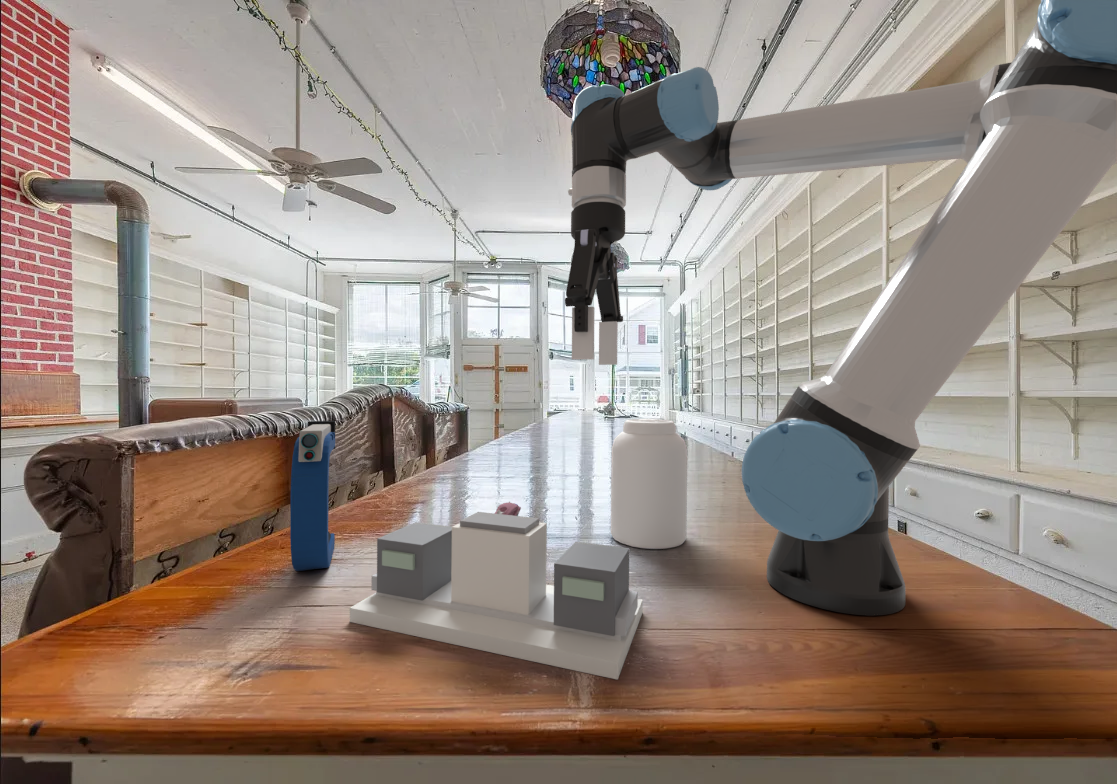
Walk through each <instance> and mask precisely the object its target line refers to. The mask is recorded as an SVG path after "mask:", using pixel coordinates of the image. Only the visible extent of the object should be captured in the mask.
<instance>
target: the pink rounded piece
mask: <svg viewBox="0 0 1117 784" xmlns="http://www.w3.org/2000/svg"><path fill="white" fill-rule="evenodd" d="M521 509H522V507H521V506H519V505H518V504H517V503H513V502H511V501H508V502H504V503H501V504H499V505H498V506H497V508H496V511H495V512H493V513H494V514H503V515H513V516H519V514H520V512H521Z"/></svg>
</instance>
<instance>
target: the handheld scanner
mask: <svg viewBox="0 0 1117 784" xmlns="http://www.w3.org/2000/svg"><path fill="white" fill-rule="evenodd" d="M335 449H336V421H335V420H309V421H307V426H306V427H305V428H303V429H302V430H300V431H299V436H298V437H297V438H296V440H295V441H294V443H293V452H292V453H293V454H292V460H291V473H290V513H289V514H290V515H289V516H290V521H289V522H290V523H289V524H290V525H289V526H290V529H289V531H290V533H289V535H290V537H289V538H290V540H289V541H290V557H291V558H290V559H291V563H292V568H293V570H294V571H296V572H301V571H310V570H317V569H319V570H320V569H327V568H330V566H331V563H332V559H333V554H334V550H335V544H336V543H335V542H336V540H335V535H336V534H335V533H333V532H332V533H330V531H329V495H330V494H329V489H330V487H329V481H330V479H329V478H330V477H329V476H330V458H331V453H332V452H333V450H335Z"/></svg>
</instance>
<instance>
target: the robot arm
mask: <svg viewBox="0 0 1117 784" xmlns="http://www.w3.org/2000/svg"><path fill="white" fill-rule="evenodd" d="M718 98H719V97H718V91H717V88H716V86H715V85H714V79H713V76H712V75H711V74H710V72H709V71H708V70H707V69H705V68H704V67H701V66H696V67H695V66H694V67H693V68H690V69H687V70H684V71H680V72H678V73H672V74H669V75H667V76H665V77H664V78H662V79H660V80H657V81H655V82H652V83H651V84H649V85H646V86H644V87H641V88H639V89H638V90H634V91H633V92H630V93H628V94H625V93H624V92H623V91H622V89H620V88H619V87H617V86H615V85H611V84H607V83H606V84H604V83H602V84H601V85H600V86H596V85H594V84H593V85H590V86H588V87H586V88H584V89H582V90H581V91H579V93H578V94H577V95H576V97H575V99H574V101H573V105H572V118H571V120H572V121H571V125H570V132H571V155H572V157H571V159H572V162H571V163H572V164H571V165H572V166H571V168H572V170H571V188H569V189H568V190H567V192H568V196H570V197H571V207H572V210H571V212H570V214H571V215H570V235H571V237H572V239H573V240H574V247H573V253H572V258H571V263H570V269H569V274H568V280H567V284H566V285H567V286H566V291H565V296H566V297H565V298H564V305H565V307H572V308H571V360H574V361H575V360H578V361H579V360H583V361H584V360H595V306H592V304H593V300H594V298H595V294H596V297H597V303H598V307H599V308H598V309H599V314H600V321H599V322H598V325H599V326H598V365H599V366H601V365H602V366H605V365H608V366H609V365H610V366H611V365H612V366H613V365H616V366H618V333H619V332H618V329H619V328H618V323H622V322H624V316H623V315H622V314H621V305H620V304H621V303H620V292H619V291H620V290H619V280H618V266H617V265H618V264H617V262H618V258H617V255H616V254H614V252H612V248H611V245H612V244H614V243H616V242H619V241H621V240H622V239H623V238H624V237H625V236H626V210H625V209H624V208H625V207H626V205H627V173H626V171H627V162H628V161H629V160H633V159H634V160H635V159H638V158H641V157H644V156H647V155H651V154H654V153H658V154H659V155H660V156H661V157H662V158H664V159H665V160H666V161H667V162H669V164H671V165H672V166H673V167H674V168H675V169H676V170H677V171H678V172H679V173H681V175H683V177H684V178H685V179H686V180H687V181H688V182H689V183H691V184H692V185H693V186H696V187H698V188H699V189H701V190H704V191H715V190H716V191H717V190H719V189H720V188H723V187H724V186H726V185H728V184H729V183H730V182H731V181H732V180H736V179H737V180H738V179H746V178H759V177H768V176H779V175H780V176H781V175H791V174H801V173H802V174H803V173H814V172H826V171H835V170H836V171H837V170H839V171H840V170H846V169H847V170H849V169H858V168H859V169H861V168H869V167H883V166H893V165H895V166H896V165H903V164H904V165H905V164H916V163H917V164H918V163H925V162H937V161H938V162H939V161H948V160H949V161H950V160H963V161H964V162H965V163H966V165H965V166H964V168H963V170H962V171H961V173H960V174H959V176H958V177H957V179H956V180H955V182H954V183H953V185H952V186H951V188H950V189H949V191H948V192H947V193H946V195H945V196H944V198H943V199H942V201H941V202H940V204H939V206H938V207H937V208H936V210H935V211H934V213H933V215H932V216H931V217H930V219H929V220H928V222H927V223H926V224H925V226H924V228H923V230H922V231H921V232H920V233H919V235H918V237H917V238H916V239H915V240H914V243H913V244H912V245H911V247H910V249H909V250H908V251H907V253H906V254H905V256H903V259H902V260H901V261H900V263H899V265H898V266H897V268H895V271H894V272H893V273H892V275H891V277H890V278H889V280H888V281H887V283H886V284H885V286H884V287H883V289H882V290H881V292H880V293H879V294H878V296H877V297H876V298H875V300H874V302H873V303H872V304H871V306H870V308H869V309H868V310H867V312H866V314H865V315H864V316H863V318H862V320H861V321H860V323H859V324H858V325H857V327H856V328H855V330H854V332H853V333H852V334H851V335H850V337H849V339H848V340H847V341H846V343H845V345H844V346H843V347H842V349H841V351H840V352H839V354H838V355H837V356H836V359H835V360H834V361H833V363H832V364H831V366H830V367H829V369H828V370H827V371H826V373H825V374H824V375H822V376H821V377H819V378H815V379H811V380H806V381H802V382H800V384H798V386H797V388H796V389H795V390H794V392H793V394H792V395H791V396H790V398H789V400H788V401H787V403H786V404H785V406H784V407H783V408H782V410H781V411H780V413H779V415H778V416H777V418H776V419H775V420H774V422H773V423H771V424H769V425H768V426H767V427H766V428H764V429H762V430H760V433H758V434H757V435H755V436H754V438H753V439H752V440H751V442H750V444H749V445H748V447H747V448H746V451H745V453H744V455H743V460H742V463H741V481H742V486H743V489H744V492H745V494H746V498H747V499H748V501H749V503H750V505H751V507H752V508H753V509H754V511H756V514H758V515H759V516H760V517H761V518H762V519H763V520H764V521H765V522H766V523H768V524H769V525H770V526H771V527H773V528H774V529H775V530H778V531H777V534H776V536H775V539H774V542H773V544H772V547H771V549H770V552H769V555H768V557H767V561H766V579H767V580H766V581H767V582H768V584H769V585H770V586H771V587H773V589H775V590H776V591H777V592H779V593H781V594H782V595H784V596H786V597H788V598H791V599H793V600H794V601H797V602H800V603H803V604H804V605H808V606H812V607H815V608H819V609H822V610H825V611H831V612H835V613H842V614H847V615H849V614H850V615H857V616H883V615H891V614H895V613H897V612H900V611H902V610H903V609H904V608H905V606H906V583H905V579H904V577H903V574H902V571H901V569H900V566H899V565H900V564H899V563H898V561H897V557H896V554H895V552H894V551H895V550H894V549H893V545H892V543H891V540H890V535H889V511H890V510H889V509H890V508H889V507H890V502H889V501H890V500H889V499H890V486H891V484H892V482H894V480H895V479H896V477H897V476H898V475H899V474H900V472H902V470H903V469H904V467H905V466H906V465H907V463H908V462H909V461H910V460H911V458H912V457H913V456H914V455H915V453H916V452H917V451H918V449H919V448H920V447H921V444H920V441H919V437H918V434H917V431H916V421H917V419H918V418H919V417H920V416H921V414H922V413H923V412H924V410H925V409H926V408H927V406H928V405H929V403H930V402H931V401H932V400H933V399H934V397H935V396H936V395H937V393H939V391H940V390H941V389H942V387H943V386H944V384H945V383H946V382H947V380H949V378H950V377H951V376H952V374H953V373H954V371H955V370H956V369H957V368H958V367H959V365H960V364H961V363H962V362H963V360H964V358H965V357H966V356H967V355H968V353H969V352H970V350H971V349H972V348H973V347H974V345H975V344H976V343H977V342H978V340H980V338H981V336H983V334H984V333H985V331H986V330H987V329H988V328H989V326H990V325H991V323H992V322H993V321H994V320H995V318H996V317H997V316H998V315H999V313H1000V312H1001V310H1003V308H1004V307H1005V305H1006V304H1007V303H1008V302H1009V300H1010V299H1011V297H1012V296H1013V295H1014V293H1015V292H1016V291H1017V290H1018V289H1019V288H1020V286H1021V285H1022V283H1023V282H1024V281H1025V280H1026V278H1027V277H1028V275H1029V274H1030V273H1031V272H1032V271H1033V269H1034V268H1035V266H1036V265H1038V264H1037V263H1038V262H1039V261H1040V260H1041V258H1042V257H1043V256H1044V255H1045V254H1046V252H1047V251H1048V249H1049V248H1050V247H1051V246H1052V244H1053V243H1054V242H1055V241H1056V239H1057V238H1058V237H1059V235H1060V234H1061V233H1062V231H1063V230H1064V229H1065V228H1066V226H1067V225H1068V224H1069V222H1070V221H1071V220H1072V219H1073V217H1074V216H1075V214H1077V212H1078V211H1079V209H1080V208H1081V207H1082V206H1083V204H1084V203H1085V202H1086V200H1087V199H1088V197H1089V196H1090V195H1091V194H1092V193H1093V191H1094V190H1095V188H1097V186H1098V184H1099V183H1100V182H1101V181H1102V179H1103V178H1104V177H1105V175H1106V174H1107V173H1108V172H1109V170H1111V168H1112V166H1114V165H1115V164H1117V0H1040V3H1039V5H1038V9H1037V17H1036V22H1035V25H1034V26H1033V28H1032V30H1031V31H1030V33H1029V35H1028V36H1027V38H1026V40H1025V42H1023V45H1022V46H1021V48H1020V49H1019V51H1018V53H1017V54H1016V55H1015V57H1014V59H1013V60H1012V61H1011V62H1007V63H1000V64H996V65H994V66H993V67H992V68H990V70H988V71H987V72H986V73H985V74H984V75H982V77H979V78H977V79H974V80H973V79H971V80H967V81H961V82H956V83H949V84H943V85H938V86H930V87H925V88H919V89H915V90H908V91H901V92H895V93H891V94H884V95H878V96H874V97H872V96H871V97H865V98H862V99H861V98H859V99H856V100H849V101H843V102H836V103H831V104H826V105H820V106H813V107H808V108H800V109H796V110H795V109H794V110H789V111H784V112H778V113H773V114H765V115H759V116H753V117H749V118H748V117H747V118H743V119H735V120H728V121H721V122H719V121H718V120H719V114H720V113H719V110H720V108H719V99H718Z"/></svg>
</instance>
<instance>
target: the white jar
mask: <svg viewBox="0 0 1117 784" xmlns="http://www.w3.org/2000/svg"><path fill="white" fill-rule="evenodd" d="M675 424H676V423H675V422H674V421H673V420H670V419H660V418H659V419H658V418H630V419H626V420H625V421H624V423H623V427H622V431H621V432H620V433H619V434H618V435H617V436H616V437H615V438H614V439H613V443H612V446H611V461H610V462H611V469H610V471H611V472H610V473H611V477H610V479H611V481H610V534H611V536H612V538H613V539H614V540H615V541H617V542H619V543H620V544H623V545H625V546H626V545H627V546H630V547H634V548H637V549H638V548H640V549H645V550H646V549H647V550H649V549H650V550H662V549H663V550H665V549H671V548H676V547H679V546H681V545H683V543H685V541H686V539H687V530H688V529H687V528H688V527H687V526H688V525H687V522H688V521H687V519H688V517H687V515H688V512H687V511H688V448H687V444H686V441H685V440H684V438H683V437H682V436H680V434H679V433H677V428H676V427H677V426H676V425H675Z"/></svg>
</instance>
